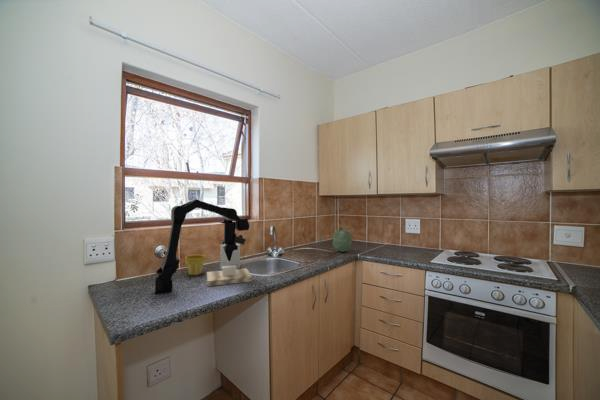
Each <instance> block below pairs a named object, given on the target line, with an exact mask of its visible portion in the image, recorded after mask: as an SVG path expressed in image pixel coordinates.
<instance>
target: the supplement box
mask: <svg viewBox="0 0 600 400" xmlns="http://www.w3.org/2000/svg"><path fill="white" fill-rule="evenodd" d="M235 244H236V245H237V246H238V250H234V251H233V253H232V256H231V260H230V261H228V259H227V256H226V253H225V251H224V248H223V246H225V244H224V245H222V244H220V245H219V247H220V252H219V253H220V255H219V258H220V259H219V269H220V270H222V266H231V265H235V266H236V269H241V244H240V243H235Z"/></svg>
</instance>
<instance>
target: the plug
mask: <svg viewBox="0 0 600 400" xmlns="http://www.w3.org/2000/svg"><path fill="white" fill-rule="evenodd" d="M221 271H222V276H229V275H236V266H235V265H231V266H222V269H221Z"/></svg>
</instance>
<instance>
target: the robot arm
mask: <svg viewBox="0 0 600 400" xmlns="http://www.w3.org/2000/svg"><path fill="white" fill-rule="evenodd" d="M197 208H198V209H200V210H203V211H208V212H210V213H214V214H217V215H219V216H221V217H223V219H222V220H221V221H220V222H219V223H220V224H223V225H224V226H223V227H224V228H223V229H224V231H223V240H221V245H224V244H225V246H223V248H224V251H225V253H226V256H227V259H228V261H230V260H231V256H232V253H233V251H234V250H238V246H237V245H236V244H240V245H242V246H245V243H246V241H247V239H246V238H244V237H243V235H241V234H238V235H237V233H236V231H237V232H243V231H244V232H245V231H249V229H250V223H249V219H248V218H245V217H244V218H240V217H239V214H238V212H237V210H236V209H235V208H232V207H231V208H230V207H222V206H217V205H214V204H212V203H209V202H208V203H207V202H205V201H201V200H200V199H192V200H191V201H187V202H186V203H183V204H181V205H175V206H173V207H172V208H171V211H170V213H171V214H170V216H171V217H170V219H171V226H170V227H171V228H170V233H169V240H168V245H167V248H166V253H165V256H164V257H163V258H162V259H163V260H162V262H161V265H160V266H159V268H158V269H157V270H156V271H155V275H156V278H154V279H155V284H154V285H155V286H154V287H155V288H154V294H155V295H158V294H159V295H160V294H169V293H171V292H172V290H173V289H174V279H173V275H174V274H175V273H177V270H178V269H179V264H180V261H181V260H180V258H178V257H177V252H178V247H179V241H180V237H181V230H182V226H183V223H184V221H185V220H186V216H187V214H188V213H190V212H192V211H194V210H195V209H197Z"/></svg>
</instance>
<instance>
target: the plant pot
mask: <svg viewBox="0 0 600 400" xmlns="http://www.w3.org/2000/svg"><path fill="white" fill-rule="evenodd" d="M184 261H185V264H186V268H187V272H188V275H189V276H198V275H201V273H202V271H203V267H204V263H205V262H206V256H205V254H204V255H203V254H192V255H191V254H190V255H188V256H185V259H184Z"/></svg>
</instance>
